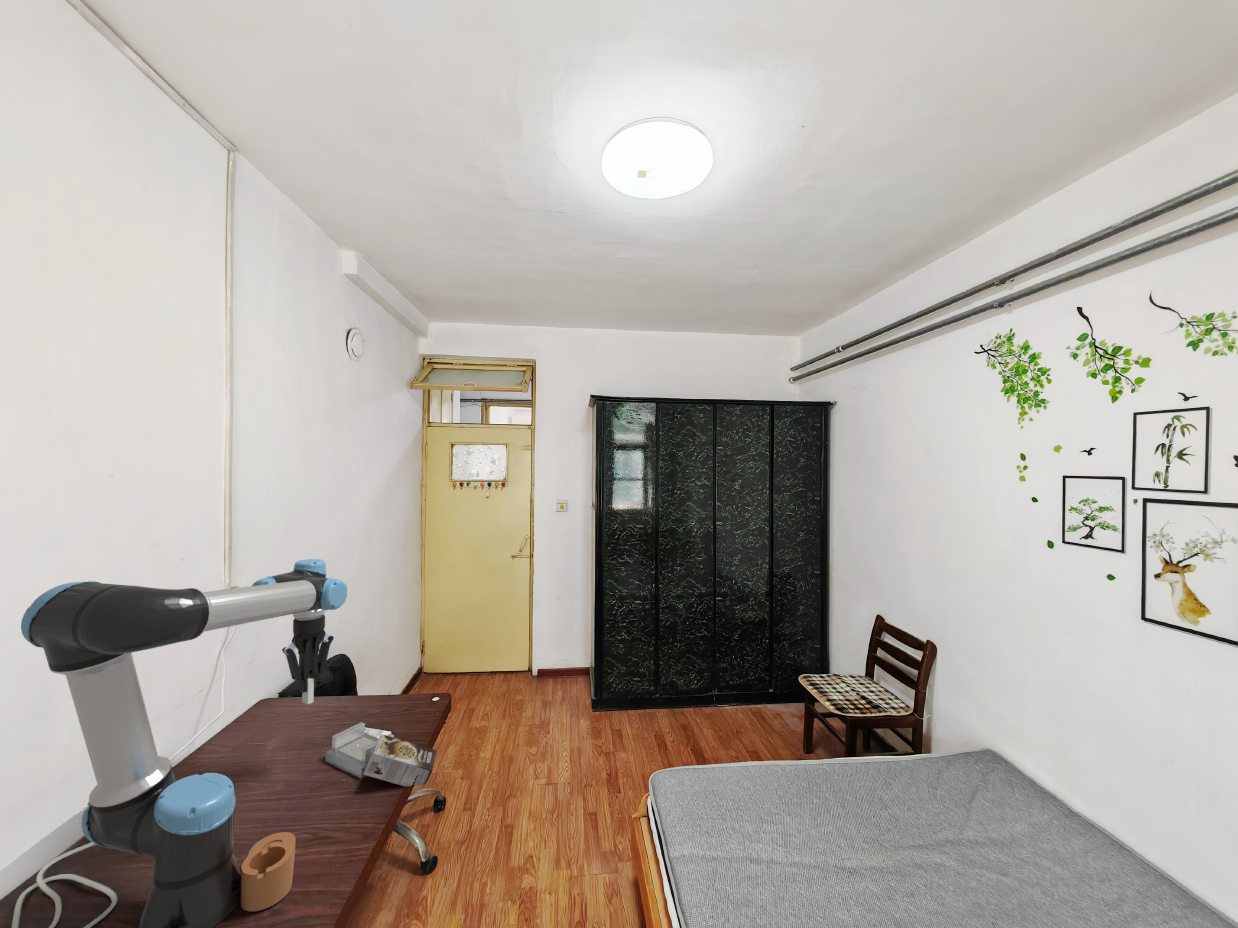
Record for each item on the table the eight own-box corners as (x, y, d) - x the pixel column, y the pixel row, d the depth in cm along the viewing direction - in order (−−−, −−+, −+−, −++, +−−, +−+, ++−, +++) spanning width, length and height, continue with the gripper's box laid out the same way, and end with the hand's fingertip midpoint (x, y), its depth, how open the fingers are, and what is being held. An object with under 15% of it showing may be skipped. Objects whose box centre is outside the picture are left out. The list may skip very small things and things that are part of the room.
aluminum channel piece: (361, 779, 135) (361, 753, 135) (325, 762, 142) (325, 737, 142) (399, 757, 145) (399, 733, 145) (364, 742, 153) (364, 719, 153)
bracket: (290, 899, 98) (290, 864, 98) (237, 918, 93) (238, 880, 94) (296, 839, 113) (297, 808, 113) (251, 852, 109) (252, 821, 109)
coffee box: (381, 732, 138) (437, 748, 142) (370, 754, 138) (426, 769, 142) (373, 752, 129) (433, 769, 133) (362, 775, 129) (422, 792, 133)
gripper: (292, 624, 130) (290, 715, 130) (340, 612, 141) (339, 695, 141) (276, 620, 133) (274, 708, 133) (324, 608, 145) (322, 689, 145)
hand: (307, 701), depth 137 cm, fingers closed
